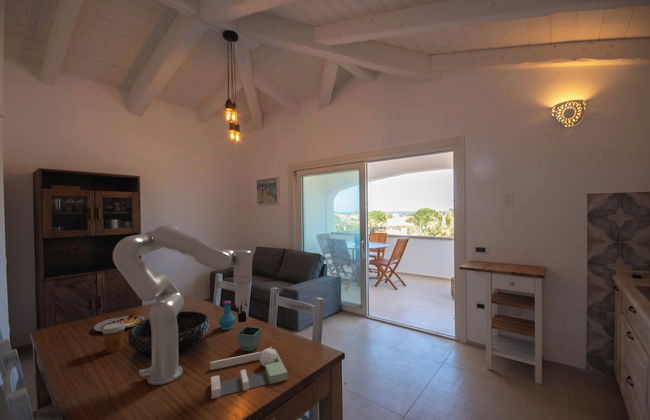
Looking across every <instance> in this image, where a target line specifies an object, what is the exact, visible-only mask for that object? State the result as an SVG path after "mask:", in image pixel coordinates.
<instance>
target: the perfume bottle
mask: <svg viewBox="0 0 650 420" xmlns="http://www.w3.org/2000/svg"><path fill="white" fill-rule="evenodd" d="M222 304H223V313H222V315H221V316H220V318H219V319H218V324H219V326H220V329H221V330H225V331H228V330H231V329H233V328H234V325H235V322H236V318H237V317H235V315H234V314H233V313H232V312H231V304H232V301H231V300H225V301H223V302H222Z"/></svg>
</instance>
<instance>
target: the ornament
mask: <svg viewBox="0 0 650 420" xmlns="http://www.w3.org/2000/svg"><path fill="white" fill-rule="evenodd" d="M272 349H273V347H272V346H270V347H269V348H265V349H264V350H262V353H261V354H260V360H259V362H260V365H262V366H263V367H264V368H265V365H267V364H271V363H275V362H276V353H275V351H274V350H272Z"/></svg>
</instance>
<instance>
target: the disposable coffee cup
mask: <svg viewBox="0 0 650 420" xmlns="http://www.w3.org/2000/svg"><path fill="white" fill-rule="evenodd" d="M125 327H126V325H125V323H124V322H115V323H111V324H107V325H105V326H104V327H103V329H102V331H101V332H102V335H103V337H102V338H103V343H104V347H105V353H107V354H112V353H111V352H113V353H117V352H118V351H120V349H121V350H122V348H123V344H124V336H125V329H126V328H125ZM116 351H117V352H116Z"/></svg>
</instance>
